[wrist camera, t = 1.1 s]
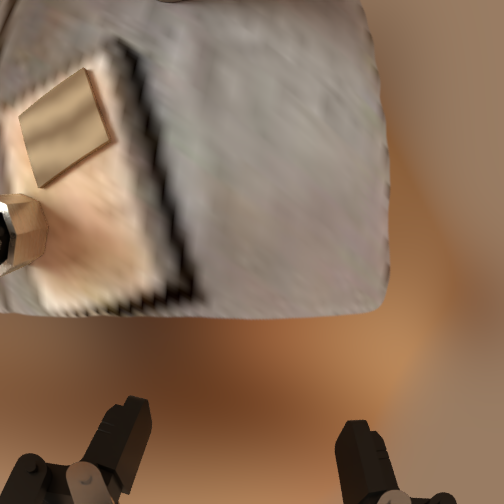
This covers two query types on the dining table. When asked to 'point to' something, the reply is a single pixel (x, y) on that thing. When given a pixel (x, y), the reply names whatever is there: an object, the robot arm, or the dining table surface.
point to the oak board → (63, 128)
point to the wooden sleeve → (23, 231)
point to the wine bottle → (4, 239)
